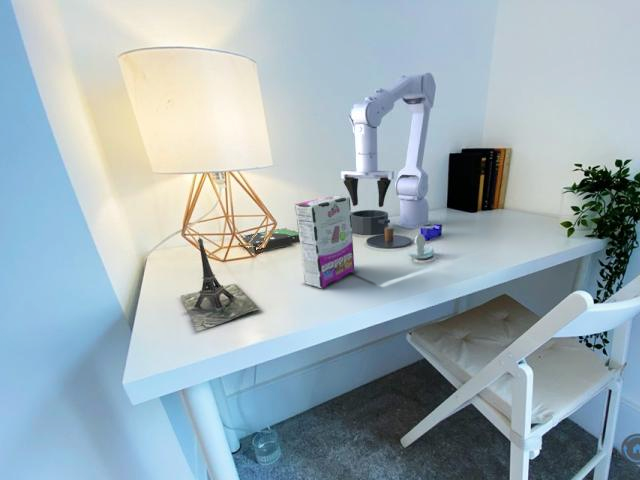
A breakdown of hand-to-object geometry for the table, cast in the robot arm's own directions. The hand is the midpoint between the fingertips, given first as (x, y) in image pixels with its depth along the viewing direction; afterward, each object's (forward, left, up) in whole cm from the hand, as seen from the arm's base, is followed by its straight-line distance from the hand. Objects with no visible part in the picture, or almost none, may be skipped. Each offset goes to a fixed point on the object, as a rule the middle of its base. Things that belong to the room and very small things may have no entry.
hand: (368, 205), depth 95 cm
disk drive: (+23, -15, -10) cm, 30 cm away
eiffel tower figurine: (+46, +16, -10) cm, 50 cm away
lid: (-2, +7, -9) cm, 12 cm away
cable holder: (-14, +11, -10) cm, 20 cm away
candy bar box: (+24, +18, -10) cm, 32 cm away
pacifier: (+1, +23, -10) cm, 25 cm away
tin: (-6, -7, -10) cm, 13 cm away
